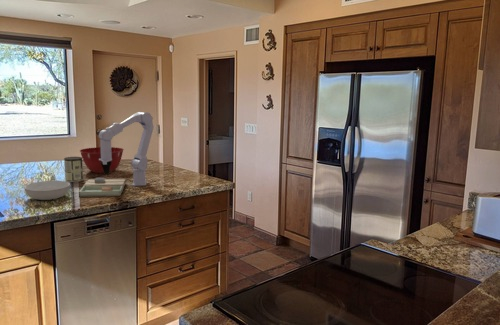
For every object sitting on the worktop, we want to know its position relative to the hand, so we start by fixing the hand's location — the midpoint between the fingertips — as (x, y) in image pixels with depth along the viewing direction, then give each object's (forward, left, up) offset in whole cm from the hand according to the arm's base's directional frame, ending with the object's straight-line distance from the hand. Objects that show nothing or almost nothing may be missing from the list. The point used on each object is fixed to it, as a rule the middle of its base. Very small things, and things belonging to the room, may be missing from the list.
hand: (106, 174), depth 220 cm
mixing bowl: (-51, -10, -9) cm, 53 cm away
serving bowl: (+17, -27, -9) cm, 33 cm away
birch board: (-5, -2, -8) cm, 10 cm away
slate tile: (-5, -5, -5) cm, 9 cm away
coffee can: (-24, -23, -9) cm, 34 cm away
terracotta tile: (+9, +1, -6) cm, 11 cm away
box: (+10, -2, -8) cm, 13 cm away
